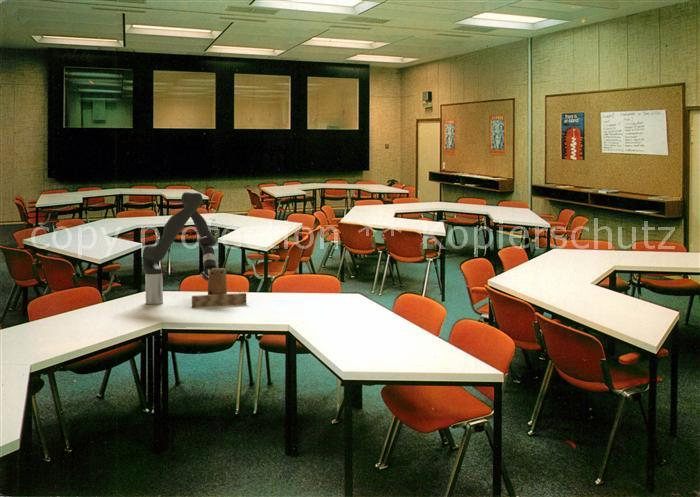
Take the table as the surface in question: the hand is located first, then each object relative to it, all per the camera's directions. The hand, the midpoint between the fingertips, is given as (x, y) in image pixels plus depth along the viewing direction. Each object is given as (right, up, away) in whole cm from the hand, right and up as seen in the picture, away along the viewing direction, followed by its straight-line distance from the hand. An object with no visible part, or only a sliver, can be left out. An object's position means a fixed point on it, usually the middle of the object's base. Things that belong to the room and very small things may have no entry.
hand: (212, 285), depth 353 cm
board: (+9, -10, -21) cm, 25 cm away
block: (+6, -9, -14) cm, 18 cm away
